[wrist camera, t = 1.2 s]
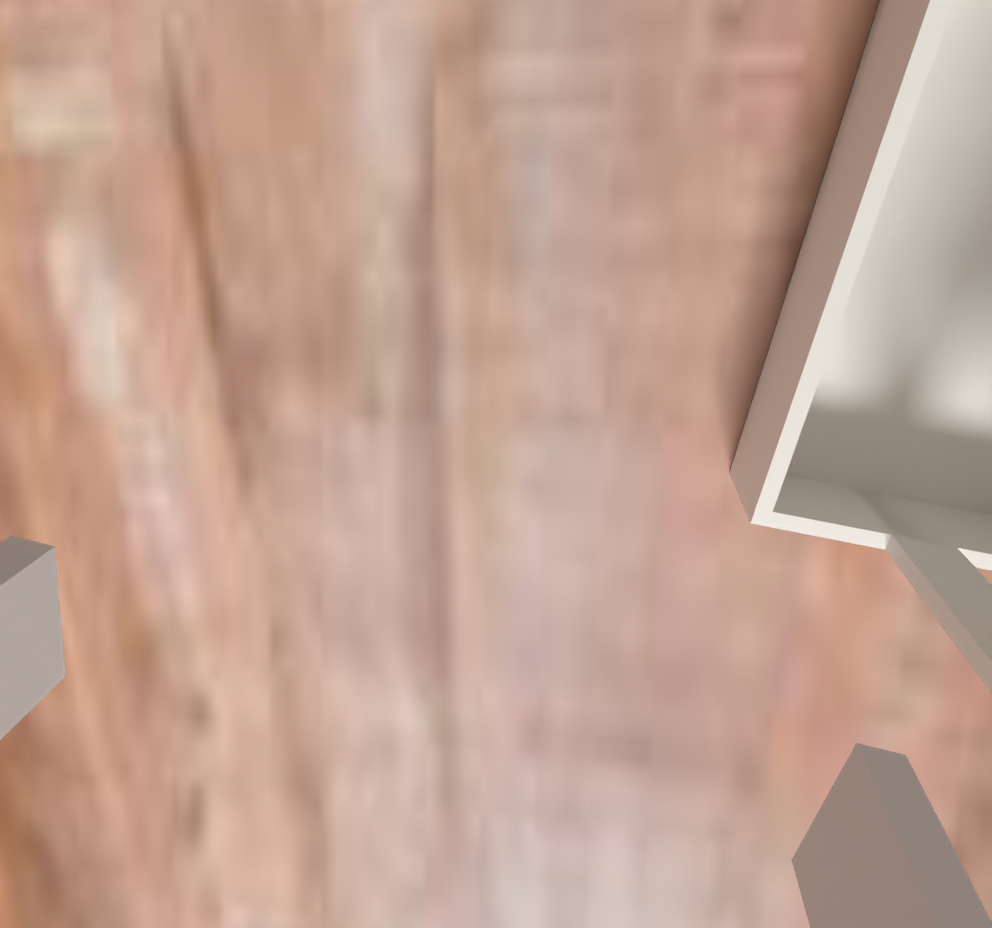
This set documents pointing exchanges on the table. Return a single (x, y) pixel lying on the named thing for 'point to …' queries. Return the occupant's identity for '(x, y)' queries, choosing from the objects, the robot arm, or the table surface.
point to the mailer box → (894, 326)
